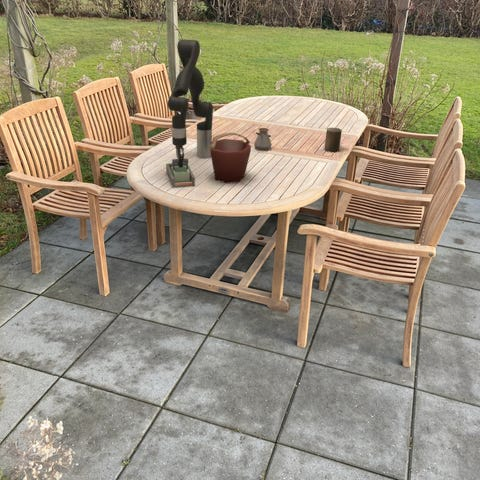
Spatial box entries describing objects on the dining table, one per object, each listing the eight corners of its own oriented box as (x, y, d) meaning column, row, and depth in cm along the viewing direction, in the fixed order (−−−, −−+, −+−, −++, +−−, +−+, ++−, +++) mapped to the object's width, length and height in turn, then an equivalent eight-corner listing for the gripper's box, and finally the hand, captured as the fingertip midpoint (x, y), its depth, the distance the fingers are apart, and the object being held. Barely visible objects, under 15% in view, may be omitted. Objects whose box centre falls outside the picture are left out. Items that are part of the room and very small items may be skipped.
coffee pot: (257, 144, 333) (258, 122, 326) (273, 147, 330) (275, 124, 322) (246, 154, 316) (246, 131, 308) (263, 157, 312) (264, 134, 305)
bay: (187, 170, 290) (186, 162, 287) (194, 185, 270) (194, 177, 268) (166, 171, 287) (165, 163, 284) (172, 187, 267) (172, 179, 265)
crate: (186, 174, 282) (186, 155, 276) (189, 180, 273) (189, 161, 268) (171, 175, 280) (170, 156, 274) (174, 181, 271) (173, 162, 266)
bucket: (211, 186, 271) (211, 141, 259) (202, 171, 289) (202, 128, 277) (254, 182, 277) (257, 138, 265) (243, 168, 296) (244, 126, 283)
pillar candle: (337, 153, 323) (341, 130, 316) (322, 151, 326) (325, 128, 318) (340, 148, 331) (343, 126, 324) (325, 146, 334) (328, 124, 327)
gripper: (188, 139, 260) (189, 170, 268) (183, 131, 271) (184, 161, 280) (174, 140, 258) (175, 171, 266) (170, 131, 269) (171, 162, 278)
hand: (180, 166), depth 273 cm, fingers closed on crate, 2 cm apart
